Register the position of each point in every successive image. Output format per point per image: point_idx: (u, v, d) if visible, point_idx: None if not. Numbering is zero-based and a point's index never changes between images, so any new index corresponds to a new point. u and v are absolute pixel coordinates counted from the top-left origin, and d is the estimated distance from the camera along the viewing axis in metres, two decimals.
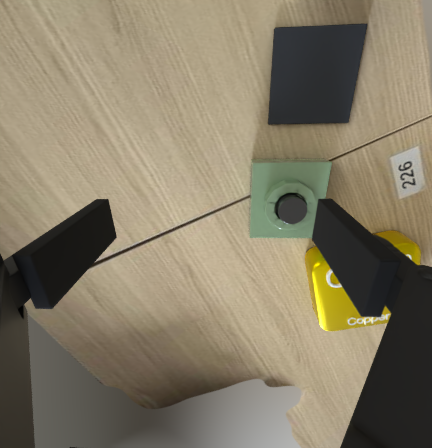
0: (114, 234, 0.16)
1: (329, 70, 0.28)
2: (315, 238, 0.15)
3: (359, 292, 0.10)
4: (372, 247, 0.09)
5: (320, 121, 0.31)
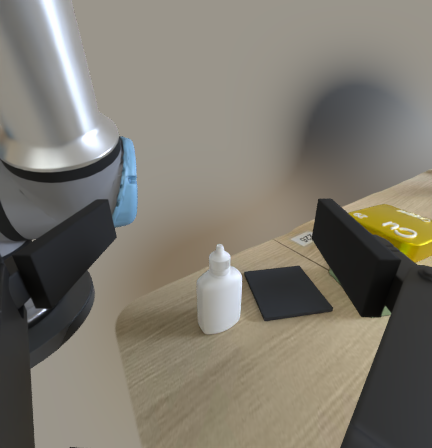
0: (114, 234, 0.16)
1: (275, 281, 0.39)
2: (315, 238, 0.15)
3: (359, 292, 0.10)
4: (372, 247, 0.09)
5: (308, 278, 0.39)
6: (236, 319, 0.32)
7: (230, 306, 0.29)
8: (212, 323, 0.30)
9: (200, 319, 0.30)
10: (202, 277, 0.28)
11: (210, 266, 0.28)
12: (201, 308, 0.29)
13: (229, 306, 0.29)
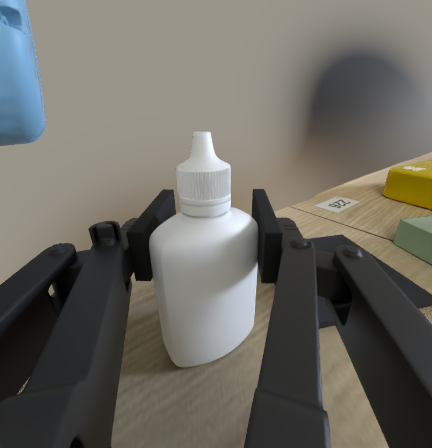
0: None
1: None
2: None
3: (261, 263, 0.12)
4: (267, 224, 0.11)
5: None
6: (247, 329, 0.14)
7: (233, 298, 0.12)
8: (192, 342, 0.12)
9: (165, 333, 0.13)
10: (161, 226, 0.11)
11: (180, 194, 0.11)
12: (163, 306, 0.12)
13: (232, 300, 0.12)
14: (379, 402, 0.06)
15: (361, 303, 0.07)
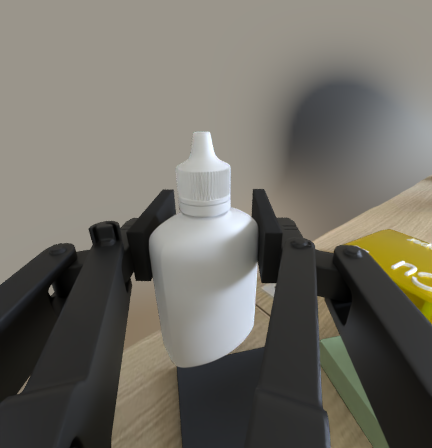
0: None
1: (225, 389, 0.22)
2: None
3: (261, 263, 0.12)
4: (267, 224, 0.11)
5: None
6: (247, 329, 0.14)
7: (233, 298, 0.12)
8: (192, 342, 0.12)
9: (165, 333, 0.13)
10: (161, 226, 0.11)
11: (179, 194, 0.11)
12: (163, 306, 0.12)
13: (232, 300, 0.12)
14: (379, 402, 0.06)
15: (362, 303, 0.07)
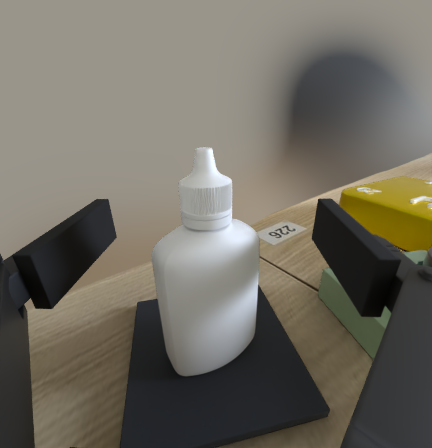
0: (114, 234, 0.16)
1: None
2: (315, 238, 0.15)
3: (359, 292, 0.10)
4: (372, 247, 0.09)
5: (272, 313, 0.18)
6: (248, 338, 0.15)
7: (235, 309, 0.13)
8: (195, 351, 0.13)
9: (167, 343, 0.13)
10: (164, 239, 0.11)
11: (182, 208, 0.11)
12: (166, 317, 0.12)
13: (234, 310, 0.13)
14: None
15: None
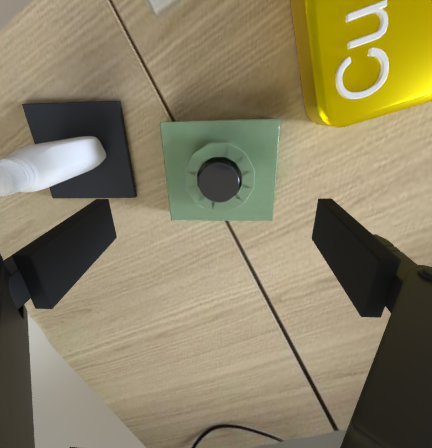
0: (114, 234, 0.16)
1: None
2: (315, 238, 0.15)
3: (359, 292, 0.10)
4: (372, 247, 0.09)
5: (122, 138, 0.25)
6: (99, 163, 0.26)
7: None
8: None
9: None
10: None
11: None
12: None
13: None
14: None
15: None
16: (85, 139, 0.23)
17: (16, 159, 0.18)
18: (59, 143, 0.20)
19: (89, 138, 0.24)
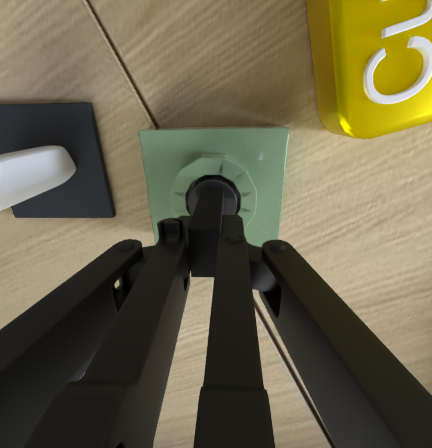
0: None
1: (33, 147, 0.21)
2: None
3: None
4: (209, 221, 0.12)
5: (95, 148, 0.21)
6: (67, 178, 0.21)
7: (30, 197, 0.18)
8: None
9: None
10: None
11: None
12: None
13: None
14: (313, 385, 0.07)
15: (289, 295, 0.08)
16: (46, 150, 0.18)
17: None
18: (4, 158, 0.15)
19: (51, 148, 0.19)
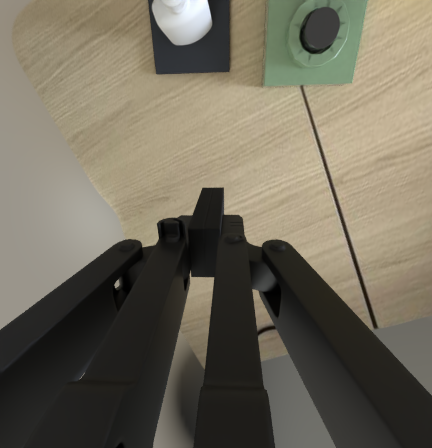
0: None
1: None
2: None
3: None
4: (209, 221, 0.12)
5: (227, 9, 0.30)
6: (206, 31, 0.30)
7: (194, 31, 0.27)
8: (178, 41, 0.30)
9: None
10: (156, 5, 0.24)
11: None
12: None
13: (194, 31, 0.28)
14: (313, 386, 0.07)
15: (289, 295, 0.08)
16: None
17: None
18: None
19: None
